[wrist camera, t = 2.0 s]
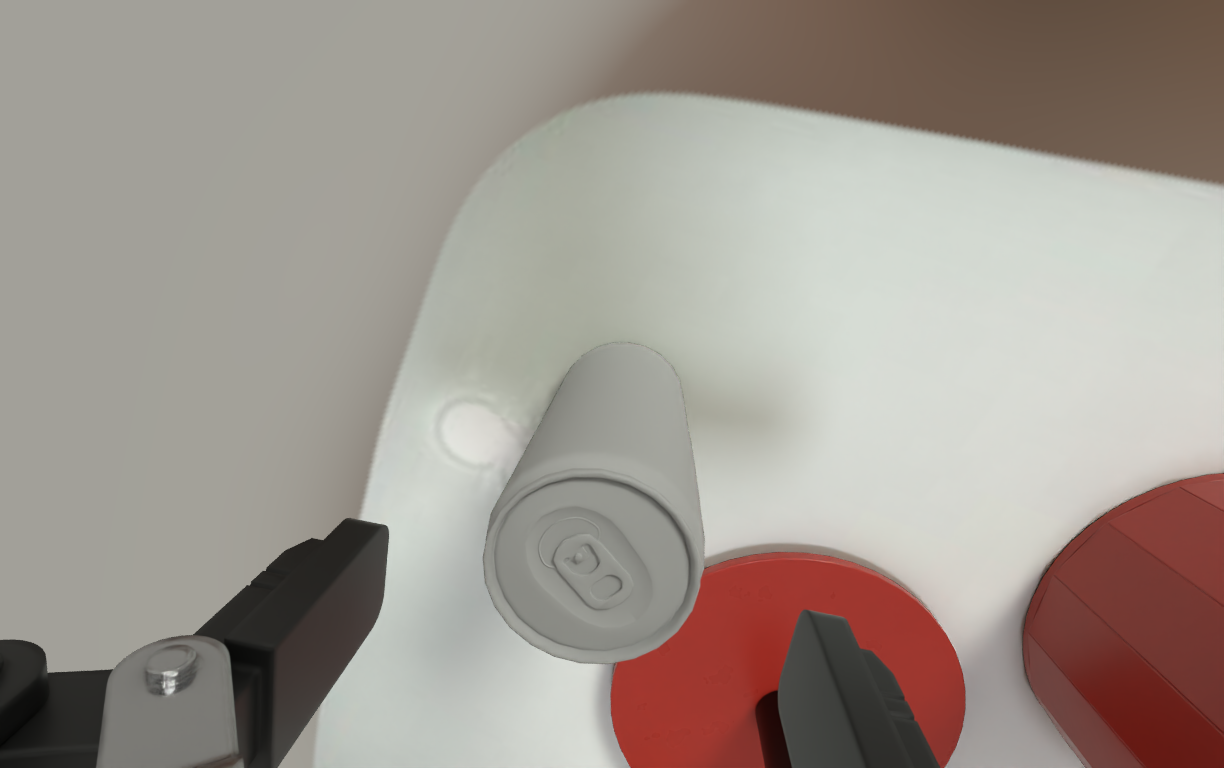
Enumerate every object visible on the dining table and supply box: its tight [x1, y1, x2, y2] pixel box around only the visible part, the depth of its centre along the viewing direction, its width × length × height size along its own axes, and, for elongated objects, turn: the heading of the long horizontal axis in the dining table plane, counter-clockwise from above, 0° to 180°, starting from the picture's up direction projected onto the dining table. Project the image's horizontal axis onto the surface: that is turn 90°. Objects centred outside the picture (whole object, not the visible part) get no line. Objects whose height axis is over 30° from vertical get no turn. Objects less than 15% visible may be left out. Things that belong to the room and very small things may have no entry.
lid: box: [611, 552, 965, 768], centre depth 25 cm, size 15×15×6 cm
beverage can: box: [483, 342, 705, 664], centre depth 19 cm, size 5×5×12 cm
